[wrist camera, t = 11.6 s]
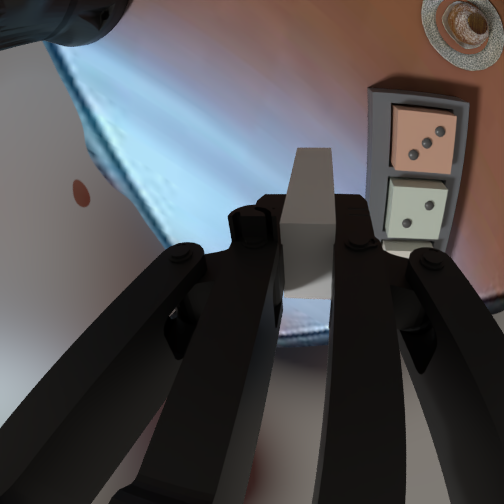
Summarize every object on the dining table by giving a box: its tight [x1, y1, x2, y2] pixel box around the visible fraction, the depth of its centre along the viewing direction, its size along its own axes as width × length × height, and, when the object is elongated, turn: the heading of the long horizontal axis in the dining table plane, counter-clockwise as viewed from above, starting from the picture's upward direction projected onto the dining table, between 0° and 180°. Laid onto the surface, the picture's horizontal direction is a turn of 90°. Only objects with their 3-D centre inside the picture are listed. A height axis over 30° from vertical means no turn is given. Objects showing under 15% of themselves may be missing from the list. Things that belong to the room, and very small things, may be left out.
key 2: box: [383, 176, 448, 239], centre depth 37 cm, size 7×7×4 cm
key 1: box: [381, 239, 433, 259], centre depth 42 cm, size 7×7×4 cm
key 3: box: [389, 103, 457, 174], centre depth 32 cm, size 7×7×4 cm
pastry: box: [421, 0, 504, 71], centre depth 23 cm, size 12×12×5 cm
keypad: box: [365, 88, 469, 253], centre depth 38 cm, size 12×28×4 cm, turn 6°
